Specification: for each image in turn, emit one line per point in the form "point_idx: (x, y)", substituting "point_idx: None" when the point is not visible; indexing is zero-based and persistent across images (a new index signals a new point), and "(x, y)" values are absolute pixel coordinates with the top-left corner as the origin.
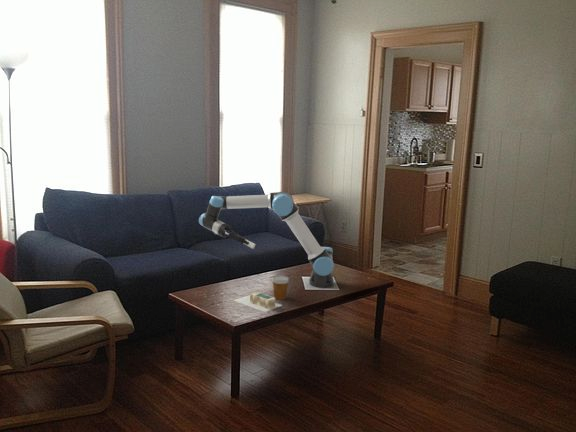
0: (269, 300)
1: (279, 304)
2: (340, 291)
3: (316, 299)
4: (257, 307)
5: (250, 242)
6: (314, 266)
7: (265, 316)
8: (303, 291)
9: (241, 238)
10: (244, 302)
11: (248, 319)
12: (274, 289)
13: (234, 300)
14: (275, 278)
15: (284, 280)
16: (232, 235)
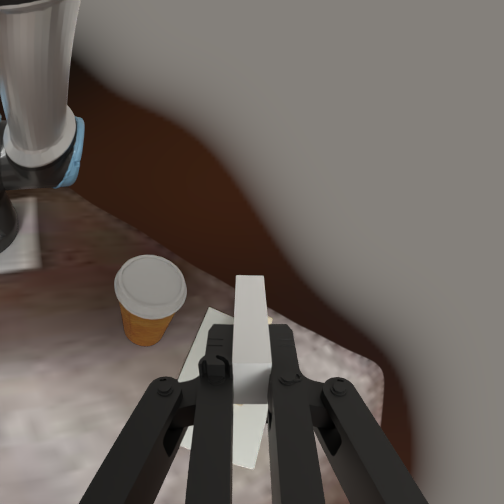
0: (269, 317)
1: (207, 316)
2: (46, 194)
3: (118, 236)
4: None
5: (266, 307)
6: (78, 166)
7: (302, 329)
8: (54, 270)
9: (343, 381)
10: (249, 423)
11: (341, 358)
12: (167, 324)
13: (252, 463)
14: (161, 299)
15: (173, 265)
16: (408, 499)
